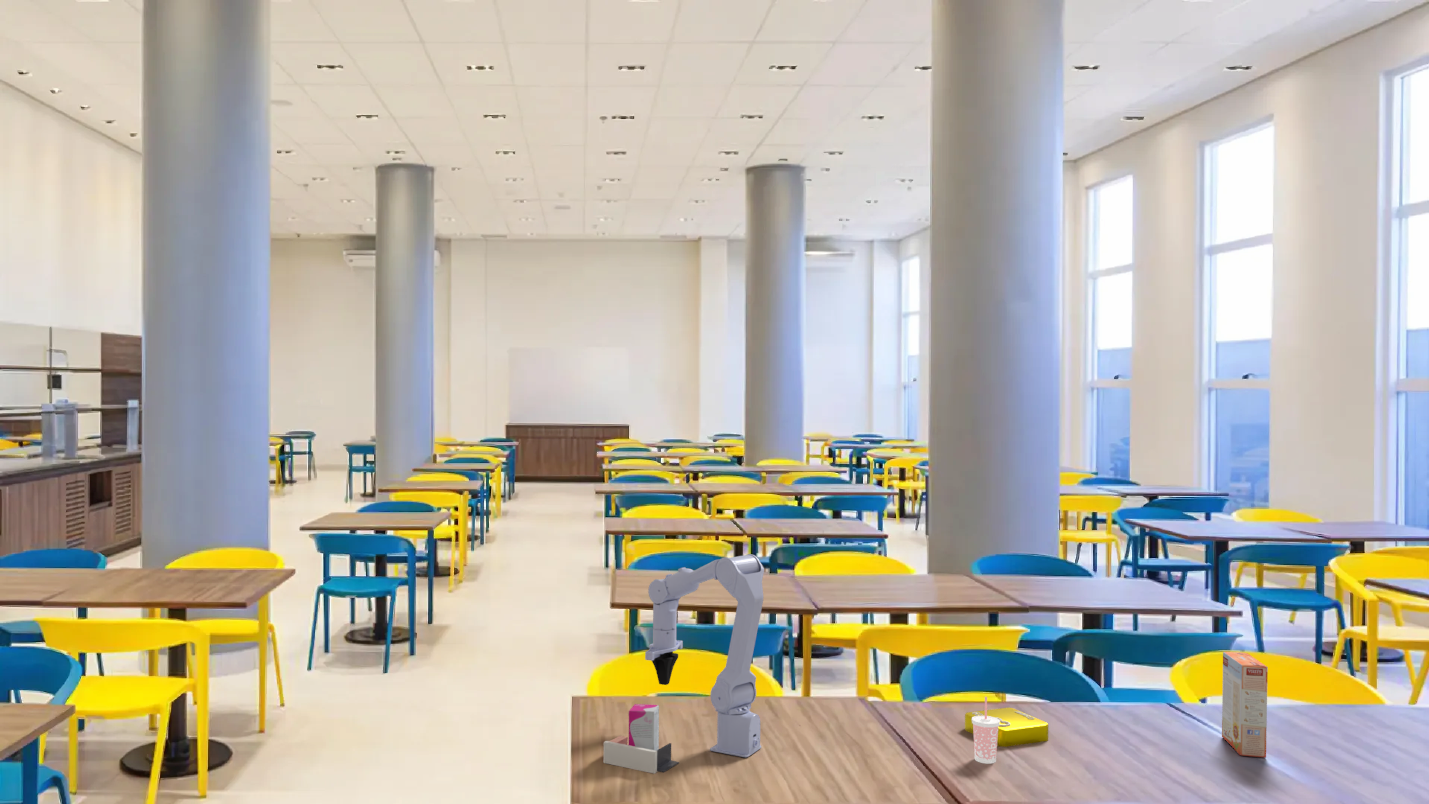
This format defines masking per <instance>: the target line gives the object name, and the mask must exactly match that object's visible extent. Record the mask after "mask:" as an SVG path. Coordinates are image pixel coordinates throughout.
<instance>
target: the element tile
mask: <svg viewBox="0 0 1429 804" xmlns="http://www.w3.org/2000/svg"><path fill="white" fill-rule="evenodd" d="M974 716H985V709H984V710H976V711H969V712H965V714H964V731H966V732H968V733H970V734H972V735H974V734H973V723H972V717H974ZM987 716H991V717H995V718H997V719H999V720H1000V725H999V726H998V739H997V747H1002V748H1009V747H1015V746H1024V745H1030V744H1029V743H1031V744H1037V743H1044V742H1048V741H1049V723H1048V722H1046V721H1044V720H1042V719H1040V718H1038V717H1035V716H1033V715H1030V714H1028V713H1025V712H1023V711H1020V710H1018V709H1017V708H1014V707H1002V708H993V709H987Z"/></svg>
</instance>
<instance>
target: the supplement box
mask: <svg viewBox="0 0 1429 804" xmlns="http://www.w3.org/2000/svg"><path fill="white" fill-rule="evenodd" d="M659 713H660V706H659V704H645V703H644V704H643V703H642V704H641V703H639V704H638V703H634V704H633V706H632V707H631V708H630V709H629V710H628V745H630V746H635V747H640V748H645V749H650V750H655V751H657V750H658V749H660V746H659V744H660V742H659V741H660V738H659V737H660V735H659V734H660V732H659V731H660V729H659V728H660V727H659V725H660V714H659Z"/></svg>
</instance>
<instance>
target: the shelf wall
mask: <svg viewBox="0 0 1429 804" xmlns="http://www.w3.org/2000/svg"><path fill="white" fill-rule="evenodd" d="M610 741H611V740H605V741H603V764H607V765H612V766H617V767H621V768H627V769H631V770H636V771H640V772H645V773H649V774H656V773H657V772H658V771H657V751H655V750H650V749H645V748H640V747H635V746H630V745H629V744H627V745H625V744H620V743H615V742H610Z"/></svg>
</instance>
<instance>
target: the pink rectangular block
mask: <svg viewBox="0 0 1429 804" xmlns="http://www.w3.org/2000/svg"><path fill="white" fill-rule="evenodd" d="M628 740H629V736H624V735H618V736H616V737H615V738H612V739H611V740H609V741H610V742H615V743H620V744H625V745H628Z"/></svg>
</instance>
